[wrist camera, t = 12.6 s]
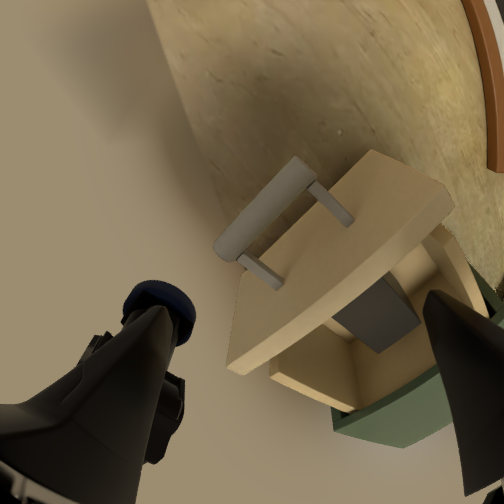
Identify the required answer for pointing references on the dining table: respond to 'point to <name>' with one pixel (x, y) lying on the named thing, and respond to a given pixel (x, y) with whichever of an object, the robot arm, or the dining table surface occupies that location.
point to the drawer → (341, 278)
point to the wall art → (491, 70)
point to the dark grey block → (379, 314)
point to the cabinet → (411, 399)
